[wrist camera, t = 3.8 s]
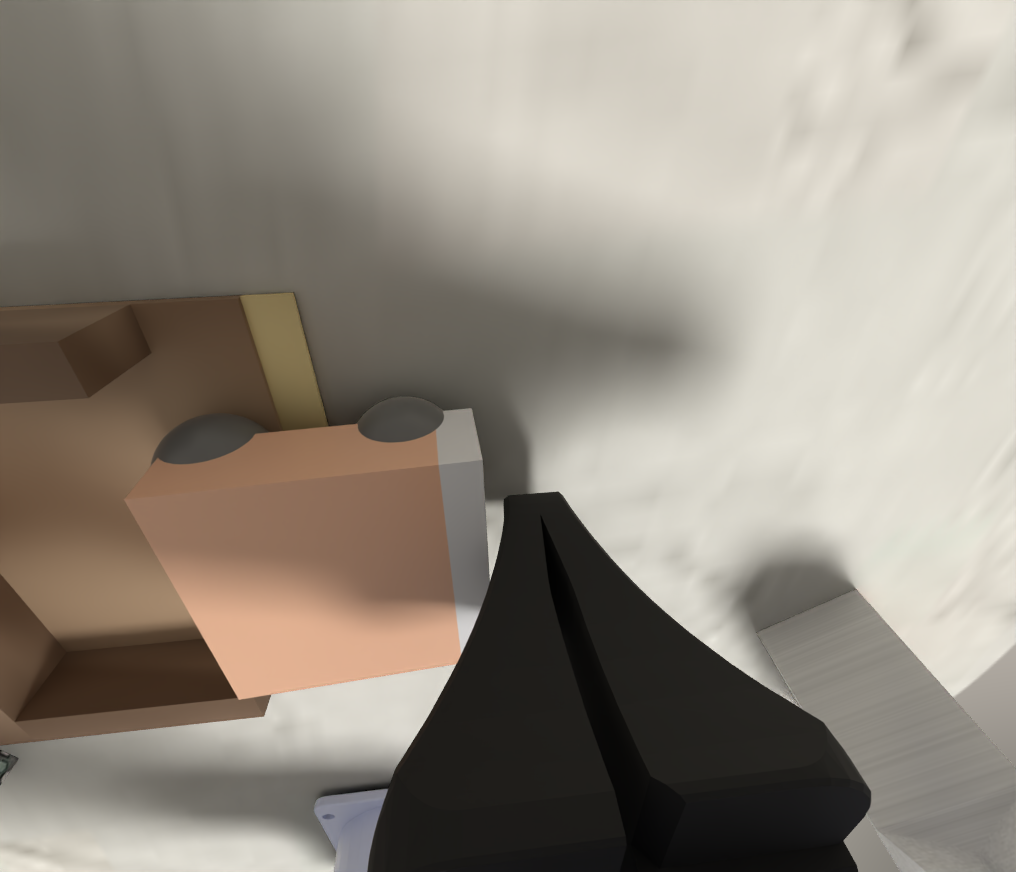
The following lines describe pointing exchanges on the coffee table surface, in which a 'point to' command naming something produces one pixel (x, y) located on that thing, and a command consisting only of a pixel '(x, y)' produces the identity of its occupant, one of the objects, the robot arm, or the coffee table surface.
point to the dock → (119, 500)
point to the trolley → (322, 542)
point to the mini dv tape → (6, 764)
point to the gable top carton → (901, 739)
